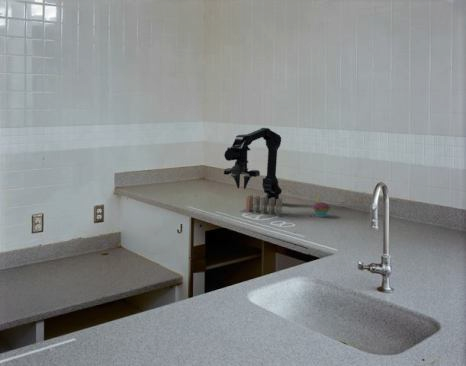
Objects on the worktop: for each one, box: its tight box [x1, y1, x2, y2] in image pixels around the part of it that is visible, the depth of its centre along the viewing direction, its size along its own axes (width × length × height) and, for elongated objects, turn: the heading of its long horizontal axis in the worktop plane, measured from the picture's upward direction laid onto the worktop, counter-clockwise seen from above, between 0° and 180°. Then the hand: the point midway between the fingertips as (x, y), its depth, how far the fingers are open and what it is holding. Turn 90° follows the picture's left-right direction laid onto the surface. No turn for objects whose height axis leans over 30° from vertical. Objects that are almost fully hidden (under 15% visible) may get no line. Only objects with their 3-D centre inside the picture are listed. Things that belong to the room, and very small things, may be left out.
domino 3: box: [260, 196, 269, 215], centre depth 290 cm, size 2×5×8 cm, turn 154°
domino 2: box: [252, 195, 261, 214], centre depth 292 cm, size 2×5×8 cm, turn 154°
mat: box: [239, 208, 290, 218], centre depth 291 cm, size 25×9×1 cm, turn 64°
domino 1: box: [245, 194, 254, 212], centre depth 294 cm, size 2×5×8 cm, turn 154°
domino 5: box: [275, 197, 284, 215], centre depth 286 cm, size 2×5×8 cm, turn 154°
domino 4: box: [267, 197, 276, 214], centre depth 288 cm, size 2×5×8 cm, turn 154°
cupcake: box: [312, 194, 331, 218], centre depth 284 cm, size 9×8×12 cm
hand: (241, 188), depth 295 cm, fingers open, 3 cm apart
